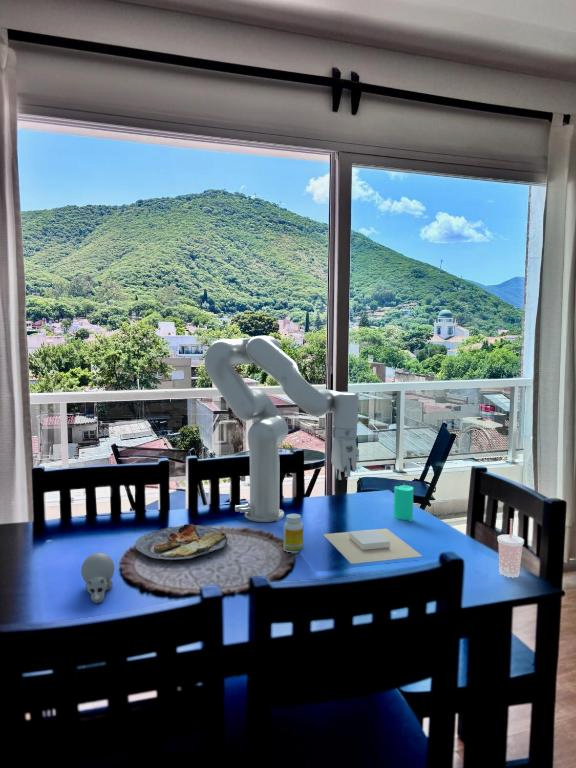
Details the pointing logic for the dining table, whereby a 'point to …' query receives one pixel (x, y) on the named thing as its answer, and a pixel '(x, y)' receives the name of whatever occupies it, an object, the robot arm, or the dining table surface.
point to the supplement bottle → (293, 534)
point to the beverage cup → (510, 554)
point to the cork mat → (356, 555)
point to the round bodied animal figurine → (98, 575)
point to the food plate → (182, 542)
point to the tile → (369, 540)
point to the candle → (403, 502)
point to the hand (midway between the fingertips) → (341, 491)
